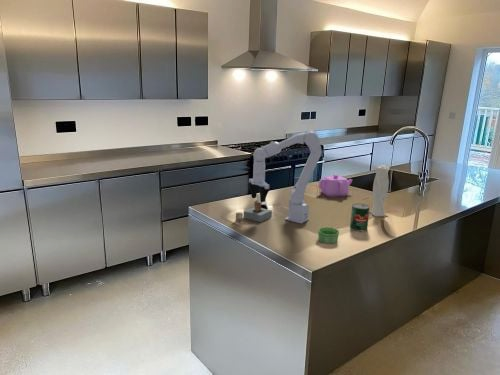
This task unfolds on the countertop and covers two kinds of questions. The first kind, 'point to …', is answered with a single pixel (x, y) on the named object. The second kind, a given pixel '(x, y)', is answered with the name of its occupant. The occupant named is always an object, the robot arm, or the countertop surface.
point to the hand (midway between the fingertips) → (258, 199)
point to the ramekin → (328, 235)
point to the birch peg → (239, 216)
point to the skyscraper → (380, 190)
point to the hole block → (258, 214)
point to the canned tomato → (359, 217)
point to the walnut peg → (257, 207)
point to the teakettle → (334, 186)
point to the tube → (263, 204)
